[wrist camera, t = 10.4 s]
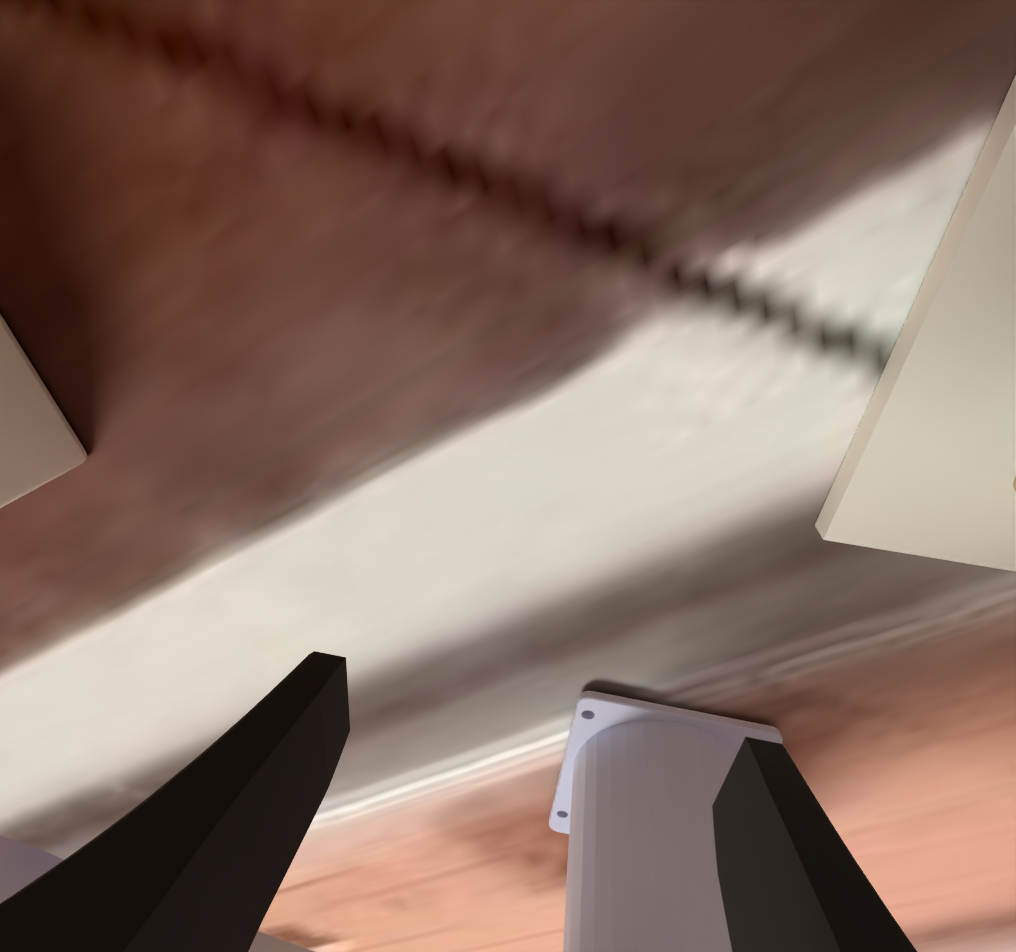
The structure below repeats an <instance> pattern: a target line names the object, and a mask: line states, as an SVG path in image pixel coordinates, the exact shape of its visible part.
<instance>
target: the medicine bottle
mask: <svg viewBox="0 0 1016 952" xmlns="http://www.w3.org/2000/svg"><path fill="white" fill-rule="evenodd" d="M86 459H87V453H86V451H85V449H84V447H83V446H82V444H81V443H80V441H79V439H78V438H77V436H76V435H75V433H74V431H73V430H72V428H71V427H70V425H69V423H68V422H67V420H66V419H65V417H64V415H63V414H62V412H61V411H60V409H59V407H58V406H57V404H56V402H55V401H54V399H53V398H52V396H51V394H50V393H49V391H48V390H47V388H46V386H45V385H44V383H43V382H42V380H41V378H40V377H39V375H38V374H37V372H36V370H35V369H34V367H33V366H32V364H31V362H30V361H29V359H28V358H27V356H26V354H25V353H24V351H23V350H22V348H21V346H20V345H19V343H18V341H17V340H16V338H15V337H14V335H13V333H12V332H11V330H10V329H9V327H8V325H7V324H6V322H5V321H4V319H3V317H2V316H1V314H0V508H1V507H3V506H5V505H7V504H9V503H11V502H12V501H14V500H16V499H18V498H20V497H22V496H23V495H25V494H27V493H29V492H31V491H32V490H34V489H36V488H38V487H40V486H42V485H43V484H45V483H47V482H49V481H51V480H53V479H54V478H56V477H58V476H60V475H62V474H64V473H65V472H67V471H69V470H71V469H73V468H75V467H76V466H78V465H80V464H82V463H83V462H84V461H85V460H86Z"/></svg>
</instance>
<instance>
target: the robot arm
mask: <svg viewBox="0 0 1016 952" xmlns="http://www.w3.org/2000/svg"><path fill="white" fill-rule="evenodd" d="M586 710H589V711H586ZM349 731H350V722H349V704H348V687H347V670H346V658H345V657H340V656H335V655H330V654H325V653H320V652H315V651H314V652H313V653H311V654H309V655H308V656H307V657H306V658H305V659H304V660H303V661H302V662H301V663H300V664H299V665H298V666H297V667H296V668H295V669H294V670H293V671H292V672H291V673H290V674H289V675H287V676H286V677H285V678H284V679H283V680H282V681H281V682H280V683H279V684H278V685H277V686H276V687H275V688H274V689H273V690H272V691H271V692H270V693H269V694H268V695H266V696H265V697H264V698H263V699H262V700H261V701H260V702H259V703H258V704H257V705H256V706H255V707H254V708H252V709H251V710H250V711H249V712H248V713H247V714H246V715H245V716H244V717H243V718H241V719H240V720H239V721H238V722H237V723H236V724H235V725H234V726H232V727H231V728H230V729H229V730H228V731H227V732H226V733H225V734H223V735H222V736H221V737H220V738H219V739H218V740H217V741H216V742H214V743H213V744H212V745H211V746H210V747H209V748H208V749H206V750H205V751H204V752H203V753H202V754H201V755H199V756H198V757H197V758H196V759H195V760H193V761H192V762H191V763H190V764H189V765H187V766H186V767H185V768H184V769H182V770H181V771H180V772H179V773H178V774H176V775H175V776H174V777H173V778H172V779H170V780H169V781H168V782H167V783H165V784H164V785H163V786H162V787H161V788H159V789H158V790H157V791H156V792H154V793H153V794H152V795H151V796H150V797H148V798H147V799H146V800H144V801H143V802H142V803H141V804H139V805H138V806H137V807H135V808H134V809H133V810H132V811H130V812H129V813H128V814H126V815H125V816H124V817H123V818H121V819H120V820H119V821H117V822H116V823H115V824H113V825H112V826H111V827H109V828H108V829H107V830H105V831H104V832H102V833H101V834H100V835H98V836H97V837H96V838H94V839H93V840H92V841H90V842H89V843H87V844H86V845H85V846H83V847H82V848H81V849H79V850H78V851H76V852H75V853H74V854H72V855H71V856H69V857H68V858H67V859H65V860H64V861H62V862H61V863H59V864H58V865H56V866H55V867H54V868H52V869H51V870H49V871H48V872H46V873H45V874H43V875H42V876H40V877H39V878H37V879H36V880H35V881H33V882H32V883H30V884H29V885H27V886H26V887H24V888H23V889H21V890H20V891H19V892H17V893H16V894H14V895H13V896H12V897H10V898H8V899H7V900H5V901H4V902H2V903H1V904H0V952H248V950H249V949H250V946H251V944H252V942H253V940H254V938H255V935H256V933H257V931H258V929H259V927H260V925H261V922H262V920H263V918H264V916H265V914H266V912H267V910H268V908H269V906H270V904H271V902H272V900H273V898H274V896H275V894H276V892H277V890H278V888H279V886H280V884H281V882H282V880H283V878H284V876H285V874H286V872H287V870H288V868H289V866H290V864H291V862H292V860H293V858H294V856H295V854H296V852H297V850H298V848H299V846H300V844H301V842H302V840H303V838H304V836H305V834H306V832H307V830H308V828H309V826H310V824H311V822H312V820H313V818H314V816H315V814H316V812H317V810H318V808H319V806H320V804H321V802H322V800H323V798H324V796H325V794H326V792H327V789H328V787H329V785H330V782H331V780H332V777H333V774H334V772H335V769H336V767H337V764H338V762H339V759H340V756H341V753H342V751H343V748H344V745H345V742H346V740H347V737H348V734H349ZM782 743H783V739H782V736H781V733H780V730H778V729H777V728H776V727H773V726H769V725H764V724H759V723H754V722H749V721H744V720H738V719H733V718H728V717H723V716H718V715H713V714H708V713H703V712H698V711H692V710H687V709H682V708H677V707H672V706H667V705H662V704H657V703H651V702H646V701H641V700H636V699H631V698H626V697H621V696H616V695H610V694H605V693H600V692H595V691H585V692H582V693H581V694H580V695H579V696H578V700H577V704H576V708H575V712H574V716H573V720H572V725H571V729H570V733H569V737H568V741H567V746H566V750H565V754H564V758H563V762H562V766H561V771H560V775H559V779H558V783H557V787H556V791H555V796H554V800H553V804H552V808H551V812H550V817H549V826H550V827H551V829H553V830H554V831H557V832H561V833H566V834H569V848H568V866H567V885H566V903H565V921H564V939H563V952H917V951H916V949H915V948H914V947H913V945H912V944H911V942H910V941H909V939H908V938H907V937H906V935H905V934H904V932H903V931H902V929H901V928H900V926H899V925H898V924H897V922H896V921H895V919H894V918H893V916H892V915H891V913H890V912H889V910H888V909H887V907H886V906H885V904H884V903H883V901H882V900H881V898H880V897H879V895H878V894H877V892H876V891H875V889H874V888H873V886H872V885H871V883H870V882H869V880H868V879H867V877H866V876H865V874H864V873H863V871H862V870H861V868H860V867H859V865H858V864H857V862H856V861H855V859H854V858H853V856H852V855H851V853H850V852H849V850H848V848H847V847H846V845H845V844H844V842H843V841H842V839H841V838H840V836H839V834H838V833H837V831H836V830H835V828H834V826H833V825H832V823H831V822H830V820H829V818H828V817H827V815H826V814H825V812H824V811H823V809H822V807H821V806H820V804H819V803H818V801H817V799H816V798H815V796H814V794H813V793H812V791H811V790H810V788H809V786H808V785H807V783H806V781H805V780H804V778H803V777H802V775H801V773H800V772H799V770H798V768H797V767H796V765H795V764H794V762H793V760H792V759H791V757H790V756H789V754H788V752H787V751H786V749H785V748H784V746H783V745H782Z"/></svg>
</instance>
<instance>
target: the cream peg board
mask: <svg viewBox="0 0 1016 952" xmlns="http://www.w3.org/2000/svg"><path fill="white" fill-rule="evenodd" d="M815 527H816V528H817V530H818V532H819V533H820V535H821V537H822V538H823V540H828V541H834V542H840V543H846V544H852V545H858V546H864V547H870V548H876V549H883V550H889V551H895V552H901V553H907V554H913V555H919V556H925V557H931V558H937V559H943V560H949V561H955V562H961V563H967V564H973V565H979V566H985V567H991V568H997V569H1003V570H1009V571H1015V572H1016V75H1015V77H1014V80H1013V82H1012V84H1011V86H1010V89H1009V91H1008V93H1007V95H1006V98H1005V100H1004V102H1003V104H1002V107H1001V109H1000V111H999V113H998V116H997V118H996V120H995V122H994V125H993V127H992V129H991V131H990V134H989V136H988V138H987V140H986V142H985V145H984V147H983V149H982V151H981V154H980V156H979V158H978V160H977V163H976V165H975V167H974V169H973V172H972V174H971V176H970V178H969V181H968V183H967V185H966V187H965V190H964V192H963V194H962V196H961V199H960V201H959V203H958V205H957V207H956V210H955V212H954V214H953V216H952V219H951V221H950V223H949V225H948V228H947V230H946V232H945V234H944V237H943V239H942V241H941V243H940V246H939V248H938V250H937V252H936V255H935V257H934V259H933V261H932V264H931V266H930V268H929V270H928V272H927V275H926V277H925V279H924V281H923V284H922V286H921V288H920V290H919V293H918V295H917V297H916V299H915V302H914V304H913V306H912V308H911V311H910V313H909V315H908V317H907V320H906V322H905V324H904V326H903V329H902V331H901V333H900V335H899V338H898V340H897V342H896V344H895V346H894V349H893V351H892V353H891V355H890V358H889V360H888V362H887V364H886V367H885V369H884V371H883V373H882V376H881V378H880V380H879V382H878V385H877V387H876V389H875V391H874V394H873V396H872V398H871V400H870V403H869V405H868V407H867V409H866V411H865V414H864V416H863V418H862V420H861V423H860V425H859V427H858V429H857V432H856V434H855V436H854V438H853V441H852V443H851V445H850V447H849V450H848V452H847V454H846V456H845V459H844V461H843V463H842V465H841V468H840V470H839V472H838V474H837V476H836V479H835V481H834V483H833V485H832V488H831V490H830V492H829V494H828V497H827V499H826V501H825V503H824V506H823V508H822V510H821V512H820V515H819V517H818V519H817V521H816V524H815Z"/></svg>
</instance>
